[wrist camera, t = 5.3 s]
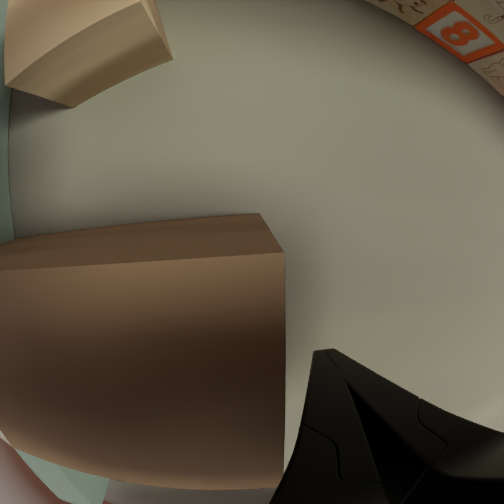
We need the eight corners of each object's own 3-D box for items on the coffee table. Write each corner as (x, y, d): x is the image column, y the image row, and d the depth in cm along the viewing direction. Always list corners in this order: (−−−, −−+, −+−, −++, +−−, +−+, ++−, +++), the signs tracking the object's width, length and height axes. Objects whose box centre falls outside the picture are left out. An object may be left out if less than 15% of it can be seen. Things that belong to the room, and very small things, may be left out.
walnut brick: (267, 386, 11) (282, 486, 6) (59, 379, 11) (13, 447, 6) (259, 213, 9) (283, 252, 5) (16, 238, 9) (-69, 275, 4)
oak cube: (173, 60, 8) (140, 1, 4) (74, 108, 8) (4, 85, 4) (151, -12, 7) (121, -72, 3) (62, 33, 7) (9, -4, 3)
